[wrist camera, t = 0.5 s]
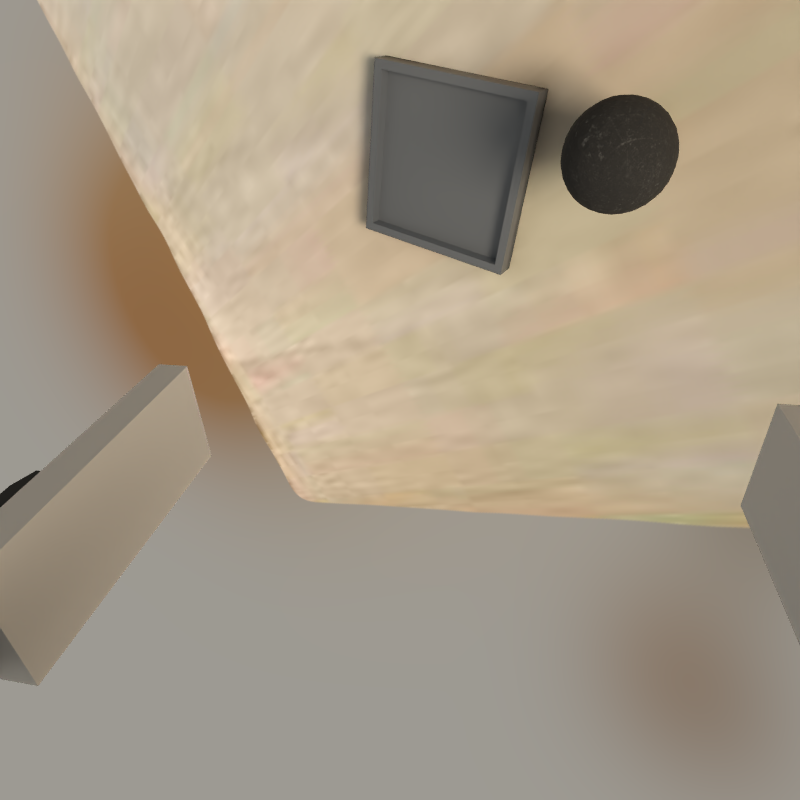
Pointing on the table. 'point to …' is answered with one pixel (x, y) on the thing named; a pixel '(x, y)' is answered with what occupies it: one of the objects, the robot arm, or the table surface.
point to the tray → (451, 159)
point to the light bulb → (619, 154)
